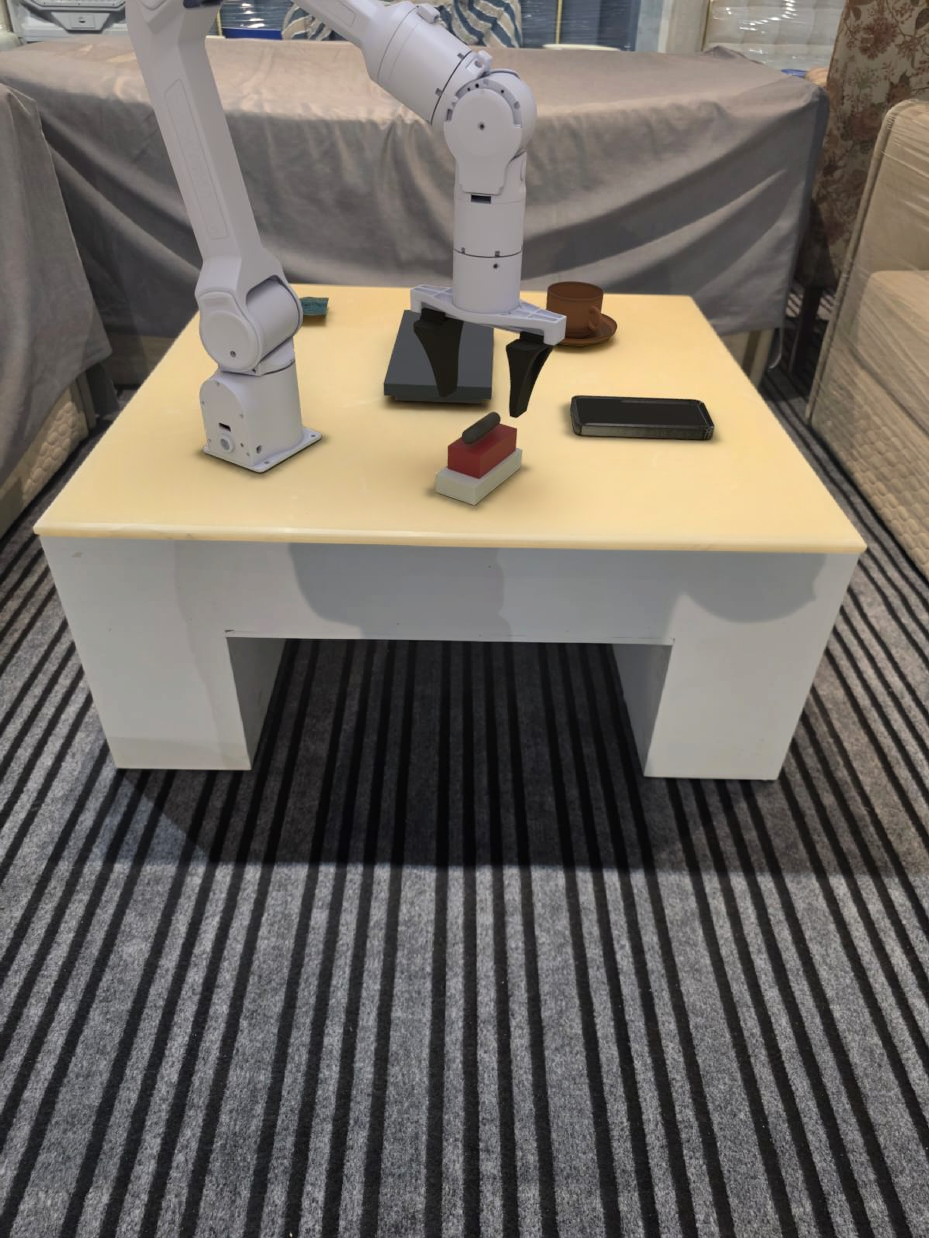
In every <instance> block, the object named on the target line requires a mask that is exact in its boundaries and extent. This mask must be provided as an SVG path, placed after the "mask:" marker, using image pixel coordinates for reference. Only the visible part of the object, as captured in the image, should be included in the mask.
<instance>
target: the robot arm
mask: <svg viewBox="0 0 929 1238" xmlns="http://www.w3.org/2000/svg"><path fill="white" fill-rule="evenodd" d="M227 1H228V0H125V2H124V3H125V5H124V7H125V11H124V14H125V16H124V17H125V23H126V28H127V32H128V36H129V38H130V41H131V46H132V48H133V51H134V54H135V58H136V60H137V63H138V66H139V70H140V73H141V76H142V79H143V81H144V85H145V88H146V91H147V95H148V97H149V100H150V103H151V106H152V109H153V112H154V115H155V119H156V122H157V124H158V127H159V131H160V133H161V137H162V139H163V142H164V145H165V148H166V152H167V155H168V158H169V161H170V164H171V166H172V170H173V174H174V176H175V179H176V182H177V185H178V188H179V191H180V194H181V197H182V200H183V204H184V207H185V210H186V213H187V215H188V219H189V221H190V225H191V227H192V231H193V234H194V237H195V240H196V243H197V246H198V250H199V252H200V256H201V258H202V266H201V269H200V271H199V272H200V273H199V276H198V279H197V283H196V286H195V289H194V298H195V300H196V303H197V307H198V312H199V322H198V333H199V339H200V341H201V344H202V346H203V349H204V350H205V352H206V353H207V355H208V356H209V358H211V360H213V361H214V362H215V363H216V365H217V368H216V370H215V371H214V373H213V374H212V375H211V376H210V377H208V378H207V379H206V380H204V381H203V383H202V384H201V386H200V388H199V396H198V399H199V405H200V410H201V415H202V421H203V427H204V432H205V436H206V442H207V444H206V445H204V446H203V448H202V450H203V452H204V453H205V454H208V455H211V456H214V457H217V458H219V459H222V460H224V461H226V462H230V463H233V464H235V465H237V466H240V467H243V468H245V469H248V470H251V471H253V472H256V473H264V472H266V471H268V470H269V469H271V468H272V467H274V466H276V465H278V464H280V463H281V462H283V461H285V460H286V459H288V458H290V457H292V456H293V455H295V454H297V453H298V452H300V451H301V450H304V449H305V448H307V447H308V446H310V445H312V444H314V443H315V442H317V441H318V440H320V439H322V433H321V432H319V431H316V430H313V429H310V428H307V427H304V426H303V418H302V409H301V400H300V399H301V398H300V391H299V382H298V381H299V380H298V372H297V364H296V353H295V341H294V340H295V339H294V337H295V336H296V335H297V334H298V333H299V331H300V329H301V327H302V325H303V319H304V316H303V310H302V306H301V302H300V300H299V298H300V297H299V296H298V294H297V293H296V291H295V290H294V288H293V287H292V286H291V285H290V283H289V282H288V280H287V278H286V275H285V273H284V270H283V266H282V263H281V261H280V260H279V258H277V257H276V256H275V255H273V254H272V253H271V252H270V251H268V250H267V249H266V248H265V247H264V246H263V243H262V240H261V236H260V233H259V230H258V227H257V222H256V219H255V216H254V212H253V209H252V205H251V202H250V198H249V195H248V190H247V187H246V183H245V181H244V177H243V174H242V170H241V167H240V164H239V160H238V156H237V153H236V150H235V149H236V148H235V146H234V143H233V139H232V135H231V132H230V128H229V125H228V122H227V118H226V114H225V111H224V107H223V105H222V99H221V97H220V93H219V90H218V87H217V83H216V80H215V77H214V73H213V69H212V66H211V62H210V58H209V54H208V51H207V48H206V44H205V43H206V38H207V36H208V34H209V32H210V30H211V28H212V26H213V24H214V23H215V20H216V18H217V17H218V15H219V12H220V11H221V8H222V7H223V5H224V4H226V3H227ZM289 1H290V2H292V3H293V4H294V5H296V6H297V7H299V8H300V9H302V10H303V11H305V12H306V13H307V14H309V15H310V16H312V17H313V18H315V19H316V20H317V21H319V22H321V23H322V24H323V25H325V26H326V27H328V28H329V29H331V30H332V31H334V32H335V33H337V34H338V35H339V36H340V37H342V38H343V39H345V40H346V41H348V42H350V43H351V44H352V45H353V46H354V47H356V48H358V49H359V50H360V51H361V53H362V56H363V61H364V64H365V68H366V71H367V75H368V77H369V79H370V80H371V81H372V82H373V83H375V84H376V85H378V86H379V87H380V88H381V89H382V90H384V91H385V92H386V93H387V94H389V95H390V96H391V97H393V98H394V99H396V100H397V101H398V102H400V103H401V104H402V105H403V106H405V107H406V108H407V109H408V110H410V111H411V112H412V113H414V114H415V115H416V116H417V117H419V118H421V119H422V120H423V121H424V122H425V123H427V124H428V125H429V126H431V127H432V128H433V129H434V130H436V131H438V132H441V131H442V132H443V135H444V140H445V143H446V145H447V148H448V149H449V151H450V153H451V155H452V156H453V158H454V159H455V163H454V164H455V165H454V169H455V170H454V186H453V249H452V255H453V256H452V287H447V286H438V285H437V286H436V285H431V284H425V283H422V284H420V285H417V286H414V287H413V288H410V289H409V296H410V297H409V298H410V301H409V302H410V310H411V311H412V312H417V313H421V316H420V319H419V320H417V321H415V322H414V323H413V329H414V333H415V334H416V336H417V337H418V339H419V340H420V342H421V344H422V346H423V348H424V350H425V352H426V354H427V356H428V359H429V361H430V364H431V367H432V370H433V374H434V377H435V381H436V385H437V389H438V393H439V396H440V397H444V398H445V397H447V396H448V395H450V394H452V393H453V392H455V391H456V389H457V383H458V356H459V346H460V339H461V333H462V328H463V324H464V321H467V322H471V323H475V324H480V325H484V326H488V327H492V328H494V329H497V330H501V331H505V332H510V333H514V334H517V335H519V337H518V338H515V339H513V341H510V342H509V343H507V344H506V345H505V353H506V354H505V355H506V357H507V363H508V372H509V399H508V412H509V417H510V418H514V419H518V418H519V417H521V416H522V415H523V414H525V413H526V412H527V411H528V407H529V403H530V400H531V396H532V393H533V391H534V388H535V385H536V382H537V381H538V378H539V377H540V376H539V375H540V373H541V371H542V369H543V367H544V366H545V363H546V362H547V360H548V358H549V356H550V355H551V353H552V352H553V350H554V349H555V348H556V346H557V345H558V344H557V343H559V342H560V341H561V340H563V339H564V338H565V328H566V316H564V315H560V314H556V313H553V312H550V311H548V310H545V309H546V308H542V307H541V306H538V305H535V304H533V303H532V302H531V303H530V302H528V301H526V300H523V299H522V298H520V297H521V279H522V265H523V250H524V249H523V248H524V247H523V246H524V232H525V231H524V230H525V216H526V215H525V213H526V198H527V187H526V176H527V175H526V174H527V158H528V156H527V155H528V152H527V150H523V149H524V148H525V147H526V146H527V144H528V143H529V141H531V138H532V137H533V134H534V132H535V129H536V126H537V121H538V107H537V102H536V99H535V96H534V93H533V91H532V90H531V88H530V86H529V85H528V84H527V83H526V82H525V81H524V80H523V79H522V77H521V76H520V74H519V73H518V72H517V71H516V70H513V69H511V68H495V69H491V65H492V63H493V61H494V58H493V56H492V55H491V54H490V53H488V52H487V51H485V50H484V49H480V50H479V51H478V52H476V51H474V49H471V48H470V47H469V46H468V45H466V44H465V43H464V42H463V41H461V40H460V39H459V38H457V37H456V36H455V35H453V33H451V32H450V31H449V30H447V29H446V28H445V27H444V26H443V25H441V24H439V23H438V21H439V19H440V17H441V12H440V11H439V10H438V9H436V8H435V7H434V6H433V5H431V4H430V3H429V2H424V3H420V4H419V6H417V5H416V4H414V3H413V2H411V1H409V0H403V1H399V2H396V3H393V4H391V5H388V6H386V5H384V4H383V3H382V2H381V1H380V0H289Z"/></svg>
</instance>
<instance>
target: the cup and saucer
mask: <svg viewBox="0 0 929 1238" xmlns="http://www.w3.org/2000/svg"><path fill="white" fill-rule="evenodd" d="M604 295H605V292H604V290H603V288H602V287H600V286H598V285H596V284H593V283H590V282H584V281H577V280H576V281H574V280H570V281H569V280H567V281H558V282H554V283H552V284H550V285H549V286H547V289H546V303H545V308H544V309H545V310H548V311H550V312H553V313H556V314H560V315H564V316H566V328H565V338H564V339H563V340H561V341H560V342H559V343H557V344H556V345H560V346H561V345H562V346H570V347H571V346H572V347H573V346H574V347H584V346H592V345H597V344H599V343H602V342H605V341H607V340H608V339H610V338H611V337H613V336H614V335H615V334H616V332H617V330H618V323H617V321H616V320H615V319H614V318H612V317H611V316H609V315H608V314H605V313H602V308H603V302H604Z"/></svg>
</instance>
